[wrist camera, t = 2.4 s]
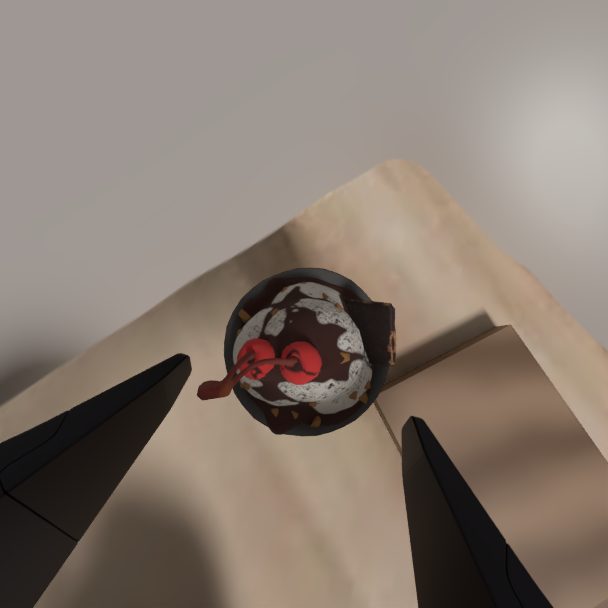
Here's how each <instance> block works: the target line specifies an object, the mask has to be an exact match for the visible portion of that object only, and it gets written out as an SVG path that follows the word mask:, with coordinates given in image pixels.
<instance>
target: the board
mask: <svg viewBox="0 0 608 608" xmlns="http://www.w3.org/2000/svg"><path fill="white" fill-rule="evenodd" d="M374 404H375V406H376V407H377V409H378V411H379V413H380V415H381V417H382V419H383V421H384V423H385V425H386V427H387V429H388V431H389V433H390V434H391V436H392V438H393V440H394V442H395V444H396V446H397V448H398V450H399V452H400V454H401V456H402V441H401V431H402V427H403V425H404V424H405V423H406V421H407V420H408V418H409V417H410V416H416V417H419V418H422V419H423V420H424V421H425V422H426V424H427V425H428V427H429V428H430V430H431V431H432V433H433V434H434V436H435V437H436V438H437V440H438V441H439V443H440V444H441V446H442V447H443V449H444V450H445V452H446V453H447V455H448V456H449V458H450V459H451V460H452V462H453V463H454V465H455V466H456V468H457V469H458V471H459V472H460V474H461V475H462V477H463V478H464V479H465V481H466V482H467V484H468V485H469V487H470V488H471V490H472V491H473V493H474V494H475V496H476V497H477V498H478V500H479V501H480V503H481V504H482V506H483V507H484V509H485V510H486V512H487V513H488V515H489V516H490V517H491V519H492V520H493V522H494V523H495V525H496V526H497V528H498V529H499V531H500V532H501V534H502V535H503V536H504V538H505V539H506V543H508V544H509V545H510V547H511V548H512V549H513V551H514V552H515V554H516V555H517V557H518V558H519V560H520V561H521V563H522V564H523V565H524V567H525V568H526V570H527V571H528V573H529V574H530V575H531V577H532V578H533V580H534V581H535V583H536V584H537V585H538V587H539V588H540V590H541V591H542V592H543V594H544V595H545V596H546V598H547V599H548V600H549V602H550V603H551V604H552V606H553V607H554V608H608V462H607V461H606V459H605V458H604V456H603V455H602V454H601V452H600V451H599V449H598V448H597V446H596V445H595V444H594V442H593V441H592V439H591V438H590V436H589V435H588V434H587V432H586V431H585V429H584V428H583V427H582V425H581V424H580V422H579V421H578V419H577V418H576V417H575V415H574V414H573V412H572V411H571V409H570V408H569V407H568V405H567V404H566V402H565V401H564V399H563V398H562V397H561V395H560V394H559V392H558V391H557V389H556V388H555V387H554V385H553V384H552V382H551V381H550V380H549V378H548V377H547V375H546V374H545V372H544V371H543V370H542V368H541V367H540V365H539V364H538V362H537V361H536V360H535V358H534V357H533V355H532V354H531V352H530V351H529V350H528V348H527V347H526V345H525V344H524V342H523V341H522V340H521V338H520V337H519V335H518V334H517V333H516V331H515V330H514V328H513V327H512V325H505V326H499V327H494V328H493V329H491V330H489V331H487V332H485V333H483V334H481V335H479V336H477V337H475V338H473V339H472V340H470V341H468V342H466V343H464V344H462V345H460V346H458V347H456V348H454V349H452V350H450V351H449V352H447V353H445V354H443V355H441V356H439V357H437V358H435V359H433V360H431V361H429V362H428V363H426V364H424V365H422V366H420V367H418V368H416V369H414V370H412V371H410V372H408V373H407V374H405V375H403V376H401V377H399V378H397V379H395V380H393V381H391V382H389V383H387V384H385V385H384V386H382V389H381V391H380V393H379V395H378V397H377V398H376V400H375V401H374Z"/></svg>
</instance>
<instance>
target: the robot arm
mask: <svg viewBox="0 0 608 608" xmlns="http://www.w3.org/2000/svg"><path fill="white" fill-rule="evenodd" d="M191 370H192V367H191V361H190V357H189V356H188V355H185V354H182V353H179V354H176V355H174V356H172V357H170V358H168V359H166V360H164V361H162V362H161V363H159V364H157V365H155V366H153V367H151V368H149V369H147V370H145V371H143V372H141V373H139V374H137V375H135V376H133V377H132V378H130V379H128V380H126V381H124V382H122V383H120V384H118V385H116V386H114V387H112V388H110V389H108V390H106V391H104V392H102V393H101V394H99V395H97V396H95V397H93V398H91V399H89V400H87V401H85V402H83V403H81V404H79V405H77V406H75V407H73V408H71V409H70V411H65V412H64V413H62V414H60V415H58V416H56V417H54V418H52V419H50V420H48V421H46V422H44V423H42V424H40V425H38V426H36V427H34V428H32V429H30V430H28V431H25V432H23V433H21V434H19V435H17V436H15V437H13V438H10V439H8V440H6V441H4V442H2V443H0V608H33V607H34V605H35V604H36V603H37V601H38V600H39V598H40V597H41V595H42V594H43V592H44V591H45V590H46V588H47V587H48V585H49V584H50V582H51V581H52V580H53V578H54V577H55V575H56V574H57V572H58V571H59V569H60V568H61V567H62V565H63V564H64V562H65V561H66V559H67V558H68V556H69V555H70V554H71V552H72V551H73V549H74V548H75V546H76V545H77V543H78V541H79V540H80V539H81V538H82V536H83V535H84V533H85V532H86V530H87V529H88V527H89V526H90V525H91V523H92V522H93V520H94V519H95V517H96V516H97V514H98V513H99V512H100V510H101V509H102V507H103V506H104V504H105V503H106V502H107V500H108V499H109V497H110V496H111V494H112V493H113V491H114V490H115V489H116V487H117V486H118V484H119V483H120V481H121V480H122V479H123V477H124V476H125V474H126V473H127V471H128V470H129V468H130V467H131V466H132V464H133V463H134V461H135V460H136V458H137V457H138V456H139V454H140V453H141V451H142V450H143V448H144V447H145V445H146V444H147V443H148V441H149V440H150V438H151V437H152V435H153V434H154V433H155V431H156V430H157V428H158V427H159V425H160V424H161V422H162V421H163V420H164V418H165V417H166V415H167V414H168V412H169V411H170V409H171V408H172V406H173V404H174V403H175V401H176V399H177V397H178V395H179V394H180V392H181V390H182V388H183V386H184V385H185V383H186V381H187V379H188V377H189V376H190V374H191ZM401 441H402V477H403V486H404V495H405V503H406V511H407V519H408V527H409V535H410V543H411V551H412V559H413V568H414V576H415V584H416V592H417V600H418V608H554V607H553V606H552V604H551V603H550V602H549V600H548V599H547V598H546V596H545V595H544V594H543V592H542V591H541V590H540V588H539V587H538V585H537V584H536V583H535V581H534V580H533V578H532V577H531V575H530V574H529V573H528V571H527V570H526V568H525V567H524V565H523V564H522V563H521V561H520V560H519V558H518V557H517V555H516V554H515V552H514V551H513V549H512V548H511V547H510V545H509V544H508V543H506V539H505V538H504V536H503V535H502V534H501V532H500V531H499V529H498V528H497V526H496V525H495V523H494V522H493V520H492V519H491V517H490V516H489V515H488V513H487V512H486V510H485V509H484V507H483V506H482V504H481V503H480V501H479V500H478V498H477V497H476V496H475V494H474V493H473V491H472V490H471V488H470V487H469V485H468V484H467V482H466V481H465V479H464V478H463V477H462V475H461V474H460V472H459V471H458V469H457V468H456V466H455V465H454V463H453V462H452V460H451V459H450V458H449V456H448V455H447V453H446V452H445V450H444V449H443V447H442V446H441V444H440V443H439V441H438V440H437V438H436V437H435V436H434V434H433V433H432V431H431V430H430V428H429V427H428V425H427V424H426V422H425V421H424V420H423V419H422V418H419V417H416V416H410V417H409V418H408V420H407V421H406V423H405V424H404V425H403V427H402V431H401Z"/></svg>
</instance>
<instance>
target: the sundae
mask: <svg viewBox="0 0 608 608" xmlns="http://www.w3.org/2000/svg"><path fill="white" fill-rule="evenodd" d="M394 323H395V308H394V307H393V306H392V304H391V303H383V302H374V301H372V300H371V299H370V298H369V297H368V296H367V294H366V293H365V292H364V291H363V290H362V289H361V288H360V287H358V286H357V285H356V284H355V283H354V282H353V281H352V280H350V279H348V278H346V277H344V276H342V275H340V274H338V273H335V272H332V271H329V270H326V269H320V268H298V269H293V270H289V271H285V272H282V273H280V274H277V275H274V276H272V277H270V278H268V279H265V280H263V281H262V282H260V283H259V284H258V285H256V286H255V287H253V288H252V289H251V290H250V291H249V292H248V293H247V294H246V295H245V296H244V297H243V298H241V300H240V302H239V303H238V305H237V306H236V308H235V310H234V311H233V313H232V316H231V318H230V320H229V322H228V325H227V328H226V335H225V341H224V358H225V364H226V370H227V373H228V374H227V376H226V377H225V378H224V379H223V380H222V381H220V382H219V381H206V382H204V383H202V384H201V385H200V386H199V388H198V393H197V396H198V397H199V398H200V399H201V400H208V399H214V398H221V397H225V396H228V395H229V394H230V392H231V390H232V388H233V390H234V393H235V395H236V396H237V398H238V399H239V401H240V402H241V404H242V405H243V406H244V408H245V409H246V410H247V411H248V412H249V413H250V414H251V415H252V417H253V418H254V419H256V420H257V421H259V422H261V423H262V424H264V425H265V426H267V427H269V429H270V430H271V431H272V432H273V433H275V434H278V435H280V434H286V435H296V436H318V435H322V434H325V433H329V432H332V431H335V430H337V429H340V428H342V427H344V426H346V425H348V424H349V423H351V422H353V421H355V420H356V419H357V418H358V417H360V416H361V415H362V414H363V413H364V412H365V411H366V410H367V409H368V408H369V407H370V406H371V404H372V403H373V402H374V401H375V400H376V398H377V397H378V395H379V393H380V391H381V389H382V386H383V384H384V382H385V379H386V375H387V371H388V368H389V366H393V365H394V363H395V355H396V331H395V324H394Z"/></svg>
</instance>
